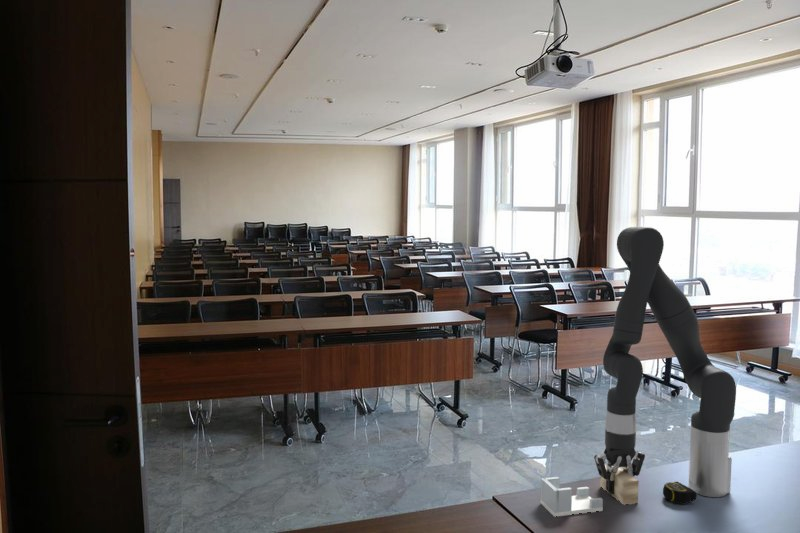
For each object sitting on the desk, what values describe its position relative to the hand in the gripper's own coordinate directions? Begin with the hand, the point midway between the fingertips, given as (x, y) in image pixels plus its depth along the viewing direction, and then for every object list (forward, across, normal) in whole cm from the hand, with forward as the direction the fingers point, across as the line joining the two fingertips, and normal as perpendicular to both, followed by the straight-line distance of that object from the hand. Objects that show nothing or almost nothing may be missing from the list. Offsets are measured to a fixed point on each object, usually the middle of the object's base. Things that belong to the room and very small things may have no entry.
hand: (618, 491), depth 167 cm
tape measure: (+1, -14, +6) cm, 15 cm away
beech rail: (+1, 0, 0) cm, 1 cm away
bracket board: (+1, +15, +4) cm, 16 cm away
